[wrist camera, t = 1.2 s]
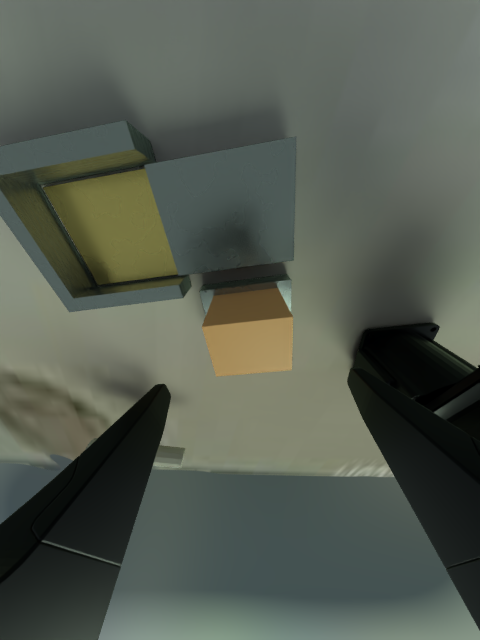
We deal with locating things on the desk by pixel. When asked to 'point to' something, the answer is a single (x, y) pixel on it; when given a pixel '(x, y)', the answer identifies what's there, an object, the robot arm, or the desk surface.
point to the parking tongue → (247, 288)
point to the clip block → (249, 332)
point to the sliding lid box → (144, 212)
